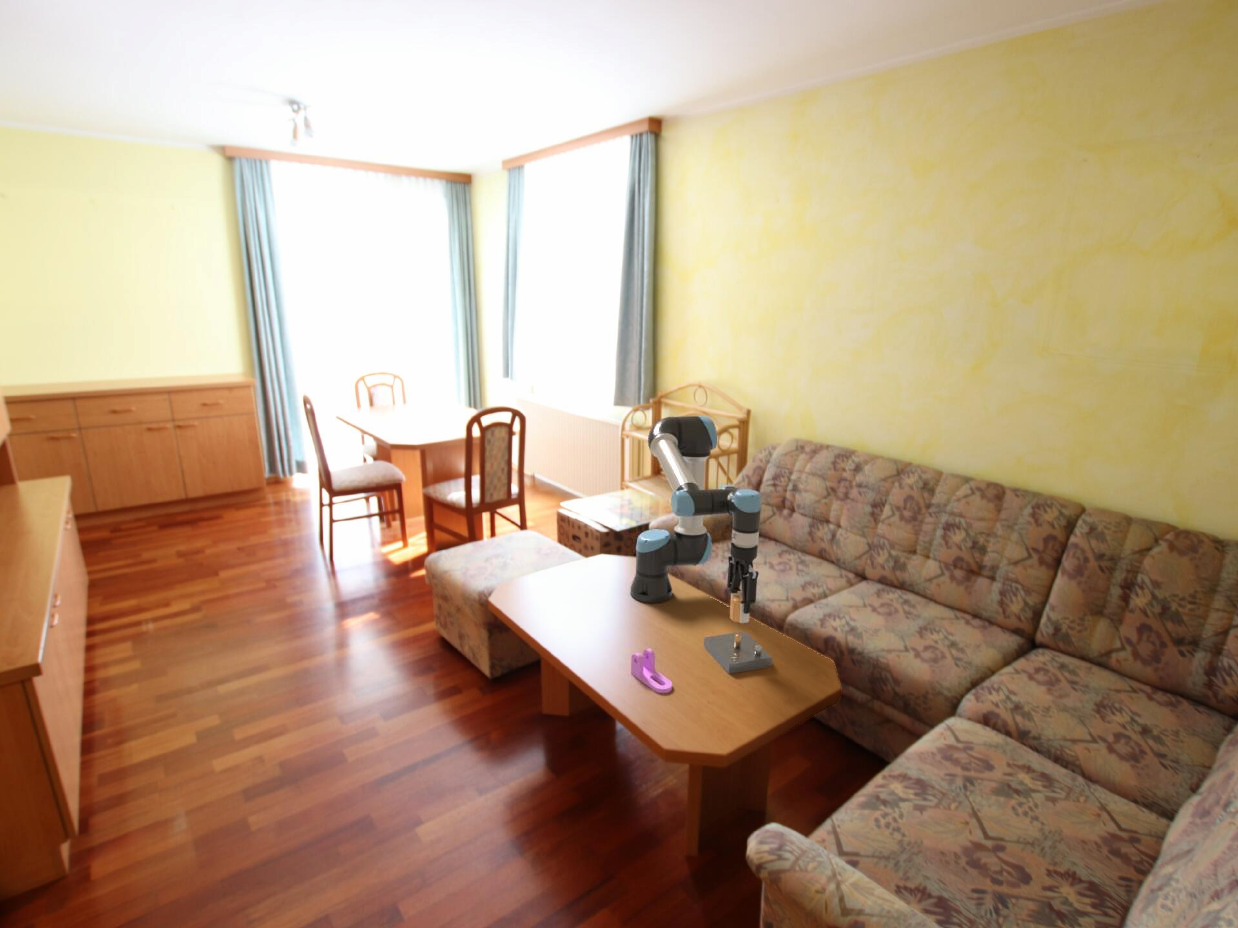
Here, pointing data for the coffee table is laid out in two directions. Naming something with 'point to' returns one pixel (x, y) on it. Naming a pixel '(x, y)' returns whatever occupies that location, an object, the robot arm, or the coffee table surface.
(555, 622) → the coffee table surface
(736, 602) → the orange faceted knob
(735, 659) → the block
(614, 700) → the coffee table surface
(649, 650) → the bracket
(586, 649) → the coffee table surface
